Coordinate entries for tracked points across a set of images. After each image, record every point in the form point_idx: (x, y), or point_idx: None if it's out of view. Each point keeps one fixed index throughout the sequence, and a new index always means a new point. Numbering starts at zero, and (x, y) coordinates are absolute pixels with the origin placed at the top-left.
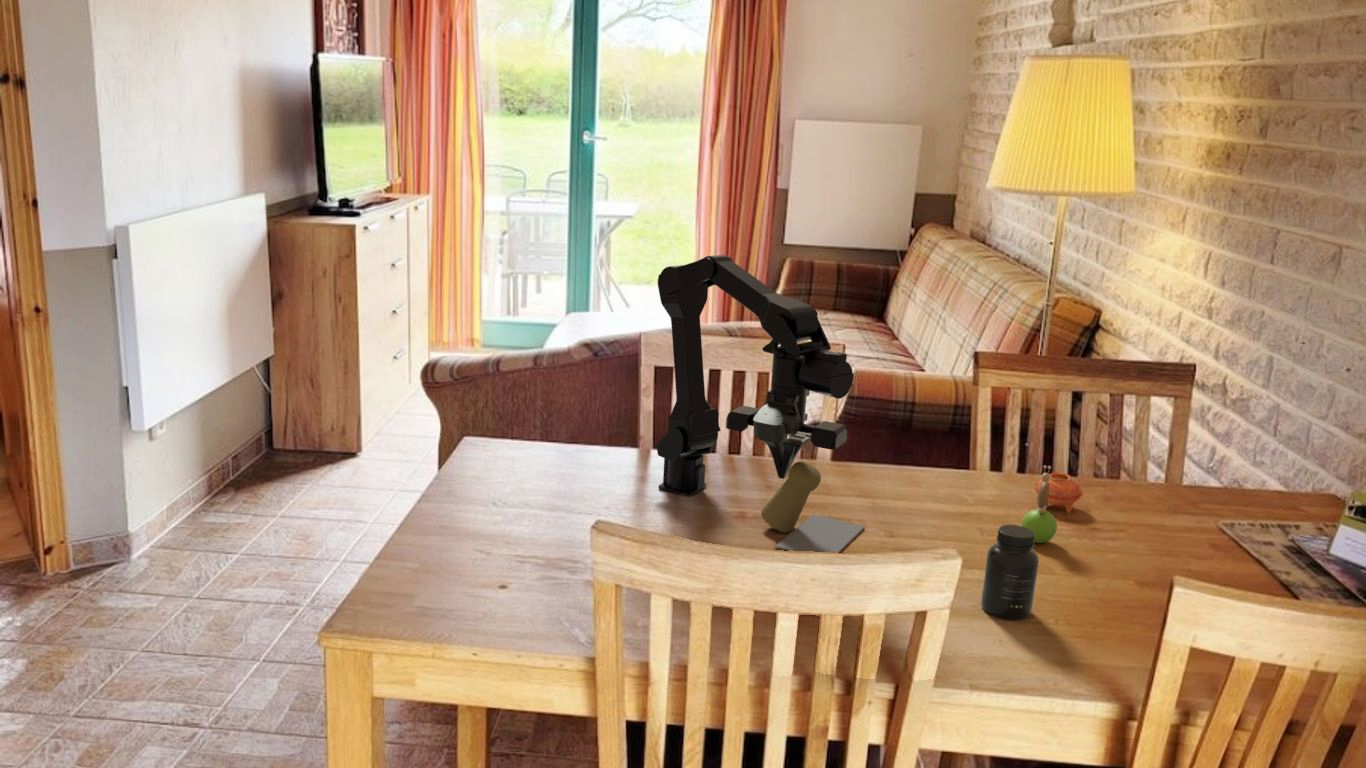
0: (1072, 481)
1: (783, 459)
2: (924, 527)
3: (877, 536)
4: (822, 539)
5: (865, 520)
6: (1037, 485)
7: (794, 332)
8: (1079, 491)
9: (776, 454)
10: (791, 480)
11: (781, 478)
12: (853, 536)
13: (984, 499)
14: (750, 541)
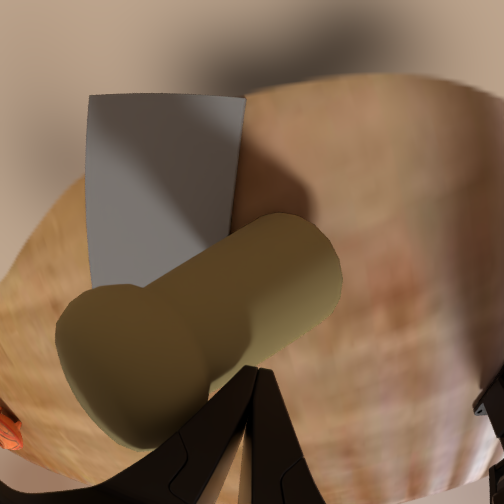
0: None
1: (215, 450)
2: (44, 355)
3: (69, 297)
4: (137, 215)
5: None
6: (14, 439)
7: None
8: None
9: (271, 485)
10: (170, 318)
11: (256, 367)
12: (90, 268)
13: (57, 438)
14: (336, 119)
